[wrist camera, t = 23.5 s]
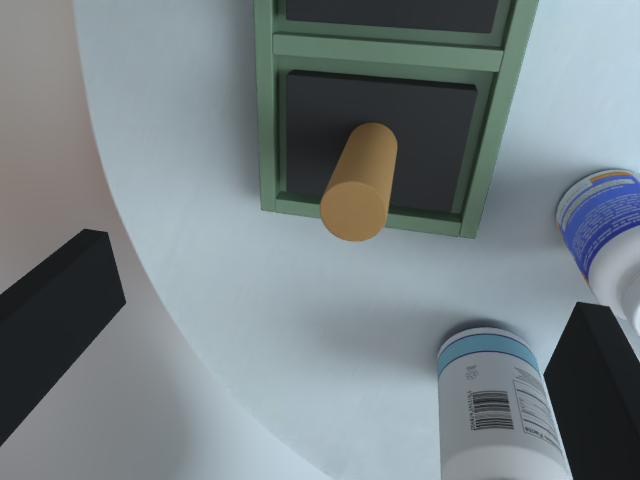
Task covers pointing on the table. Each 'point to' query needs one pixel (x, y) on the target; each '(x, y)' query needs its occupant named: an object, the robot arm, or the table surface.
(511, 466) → the beverage can
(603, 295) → the pill bottle
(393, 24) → the black stamp with handle
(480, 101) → the pad holder
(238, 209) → the table surface
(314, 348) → the table surface
